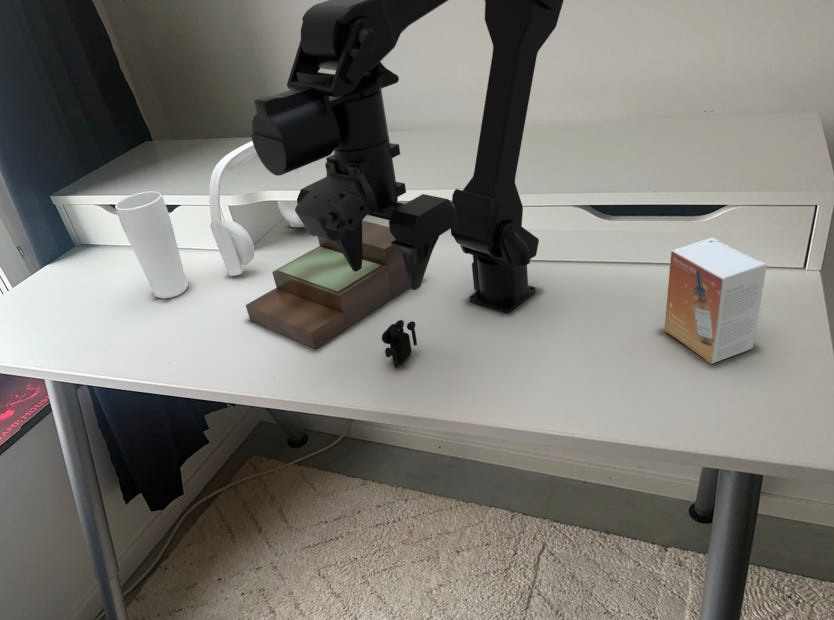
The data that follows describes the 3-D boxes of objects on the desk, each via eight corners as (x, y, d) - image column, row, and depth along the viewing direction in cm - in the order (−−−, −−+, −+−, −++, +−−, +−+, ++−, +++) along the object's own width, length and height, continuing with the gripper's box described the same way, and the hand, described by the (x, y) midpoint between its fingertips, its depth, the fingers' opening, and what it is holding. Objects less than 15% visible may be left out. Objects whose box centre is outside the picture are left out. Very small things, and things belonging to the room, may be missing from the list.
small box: (663, 331, 83) (668, 249, 77) (703, 317, 84) (712, 235, 78) (711, 365, 76) (721, 278, 71) (754, 349, 78) (768, 262, 72)
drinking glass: (141, 302, 109) (104, 210, 101) (163, 281, 114) (130, 191, 106) (180, 302, 107) (146, 208, 99) (201, 280, 113) (170, 189, 104)
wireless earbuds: (395, 377, 83) (388, 341, 80) (376, 374, 84) (369, 338, 82) (421, 345, 88) (416, 309, 85) (403, 342, 89) (397, 307, 86)
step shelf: (419, 281, 102) (412, 232, 98) (315, 349, 91) (302, 298, 87) (352, 260, 111) (343, 215, 106) (249, 320, 100) (235, 272, 95)
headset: (248, 283, 109) (214, 170, 99) (215, 277, 113) (179, 167, 103) (325, 228, 123) (302, 123, 113) (293, 224, 126) (268, 122, 116)
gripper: (241, 157, 73) (278, 291, 82) (369, 183, 61) (396, 336, 70) (322, 123, 79) (349, 251, 88) (452, 140, 67) (468, 286, 76)
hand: (385, 279), depth 80 cm, fingers open, 9 cm apart
